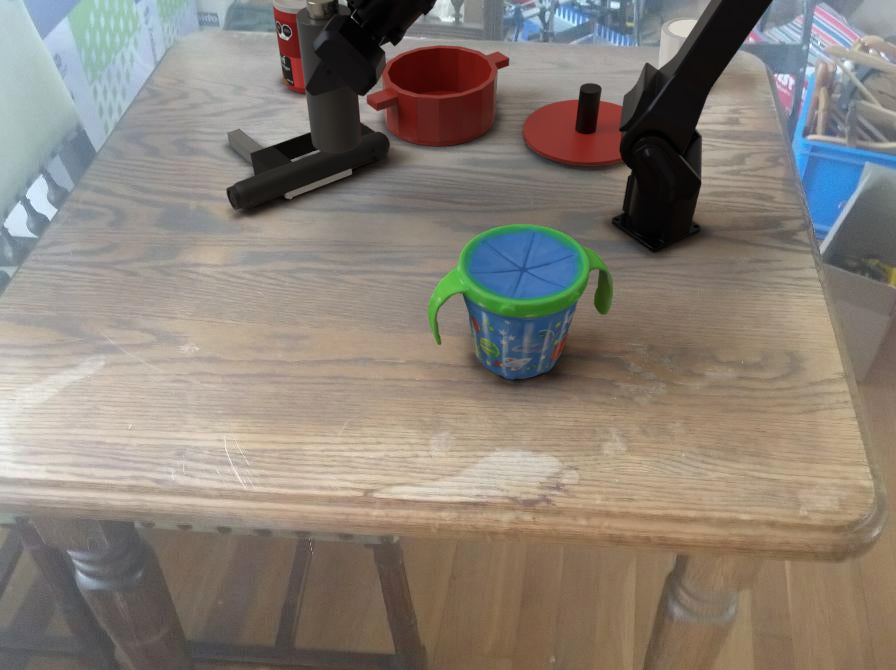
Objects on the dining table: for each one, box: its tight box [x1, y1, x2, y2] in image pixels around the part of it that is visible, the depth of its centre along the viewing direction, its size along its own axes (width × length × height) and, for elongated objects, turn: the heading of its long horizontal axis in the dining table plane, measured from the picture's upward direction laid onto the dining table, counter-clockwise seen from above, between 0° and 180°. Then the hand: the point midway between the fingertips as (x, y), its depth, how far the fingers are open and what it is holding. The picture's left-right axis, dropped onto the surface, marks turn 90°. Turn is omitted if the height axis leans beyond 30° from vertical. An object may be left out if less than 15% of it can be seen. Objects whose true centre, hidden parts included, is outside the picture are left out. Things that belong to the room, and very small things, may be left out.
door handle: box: [225, 121, 391, 211], centre depth 100 cm, size 3×20×16 cm
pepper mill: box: [296, 0, 362, 153], centre depth 85 cm, size 5×5×14 cm
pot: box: [365, 44, 510, 147], centre depth 104 cm, size 13×19×6 cm
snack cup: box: [427, 223, 614, 381], centre depth 73 cm, size 16×10×10 cm
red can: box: [272, 0, 307, 95], centre depth 110 cm, size 8×8×11 cm
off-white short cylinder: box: [657, 16, 700, 70], centre depth 106 cm, size 7×7×7 cm
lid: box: [522, 82, 623, 167], centre depth 99 cm, size 14×14×6 cm
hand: (317, 78), depth 86 cm, fingers closed on pepper mill, 5 cm apart
